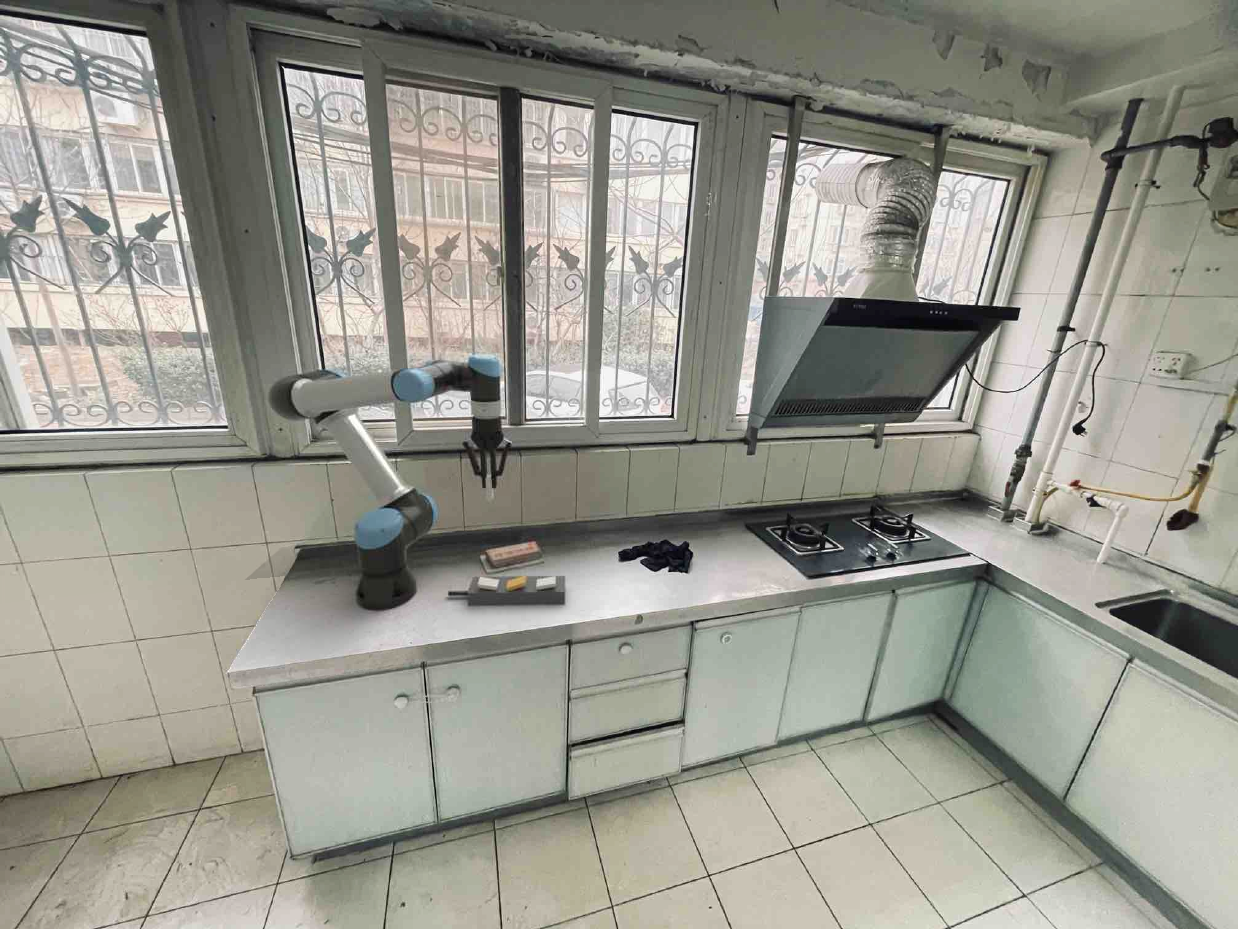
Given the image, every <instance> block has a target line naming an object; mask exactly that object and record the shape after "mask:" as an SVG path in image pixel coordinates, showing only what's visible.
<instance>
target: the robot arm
mask: <svg viewBox="0 0 1238 929" xmlns="http://www.w3.org/2000/svg"><path fill="white" fill-rule="evenodd" d="M500 368H501V367H500V360H499V358H498V357H497V356H496V355H492V354H472V355H469V357H468V361H467V362H466V361H456V360H446V359H441V358H440V359H429V360H427V361H426V362H425V363H424V364H423V365H421V366H417V367H411V368H403V369H398V370H389V371H381V372H374V373H368V374H366V373H365V374H361V375H360V374H359V375H352V376H349V375H347V374H345V373H343V371H342V372H341V371H340V370H336V369H330V368H329V369H315V370H314V371H309V372H304V373H299V374H297V373H296V374H294V375H288V376H284V377H281V378H280V379H278V380H276V381H275V382H274V383H273V384H272V385H271V386H270V388H269V391H268V397H267V398H268V399H267V400H268V404H269V405H270V408H271V409H272V411H274V414H276V415H278V416H279V417H281V418H283V419H284V420H289V421H292V422H293V421H295V422H297V421H300V422H301V421H305V420H306V421H307V420H309V419H312V420H313V421H314V423H315V425H316V426H317V427H318V428H321V429H322V428H323V429H326V430H327V431H328V432H329V433H330V435H331V437H332V438H333V439H334V441H335V443H337V445H338V446H339V448H340V450H342V452H343V453H344V454H345V456H346V458H347V459H348V460H349V462H350V463H351V465H352V466H353V467H354V469H355V470H356V472H357V473H358V475H359V476H360V477H361V479H362V481H364V483H365V484H366V486H367V487H368V488H369V490H370V491H371V493H372V494H373V496H374V497H375V498H376V500H377V507H376V509H375V510H374V511H373V510H371V511H368V512H366V513H364V514H363V515H362V516H360V517H359V518H358V519H357V521H356V522H355V525H354V536H353V537H354V543H355V547H356V548H355V549H356V553H357V554H356V555H357V560H358V561H357V562H358V565H359V573H360V574H359V579H358V582H357V585H356V591H355V597H356V603H357V604H358V606H360V607H361V608H364V609H367V610H372V611H383V610H389V609H393V608H396V607H399V606H401V605H404V604H406V602H408V601H411V599H412V598H413V597H414V596H415V594H416V593H417V589H418V588H417V586H418V585H417V581H416V578H415V576H414V575H413V573H412V571H411V569H410V566H409V565H408V558H407V549H408V548H409V547H411V546H412V545H413V544H414V543H415V542H416V541H418V540H419V539H420V538H422V537H423V536H424V535H425V534H428V533H429V532H430V530H431V529H432V528H433V527H435V525H436V523H437V520H438V516H439V515H438V514H439V512H438V507H437V504H436V502H435V501H434V499H433V498H432V497H431V496H429V494H425V493H423V492H418V490H417V489H416V488H415V486H411V485H408V484H406V483H405V482H404V479H402V477H401V475H400V474H399V473H398V471H397V470H396V469H395V467H394V465H393V464H392V462H391V461H390V459H389V458H388V456H387V455H386V454H385V452H384V450H383V449H382V448H381V447H380V445H379V443H378V442H377V441H376V440H375V437H374V436H373V435H372V433H371V432H370V431H369V429H368V427H367V426H366V425H365V423H364V421H363V420H362V419H361V418H360V416H359V414H358V411H359V408H365V407H372V406H381V405H389V404H397V403H405V402H406V403H408V404H415V403H421V402H425V401H427V400H428V399H431V398H434V397H437V396H439V395H442V394H445V393H448V392H451V391H453V392H454V391H455V392H464V393H466V392H469V394H470V395H469V396H470V411H471V415H472V417H471V427H472V428H471V431H472V432H471V435H470V437H469V438H468V439H467V438H466V439H464V441H463V442H462V446H463V448H464V449H465V450H466V452H467V456H468V459H469V461H470V466H471V468H472V472H473V474H474V476H476V477H477V476H478V477H480V478H481V487H482V489H485V494H486V502H487V501H488V502H491V501H493V499H494V497H495V496H494V489H496V488H497V485H498V477H501V476H502V475H503V474H504V470H505V466H506V462H507V458H508V453H509V450H510V448H511V447H512V444H513V440H511V439H507V438H505V435H504V433H503V427H502V426H503V424H502V422H503V421H502V416H501V414H502V398H501V371H500V370H501V369H500ZM501 444H502V447H503V449H502V453H501V457H500V462H499V466H498V468H497V465H498V464H497V448H498V447H499V446H500V445H501ZM474 445H475V446H476V447H477V448H478V449H479V456H480V457H479V458H480V465H479V461H478V459H477V455H476V452H475V449H474ZM487 451H489V456H490V457H489V458H490V460H489V462H490V474H488V461H487V456H488V455H487Z"/></svg>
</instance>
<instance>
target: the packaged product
mask: <svg viewBox="0 0 1238 929" xmlns="http://www.w3.org/2000/svg"><path fill="white" fill-rule="evenodd" d="M484 553H485V554H484V555H480V556H479V558H480V561H481V563H482V566H483V569H484V571H485V573H486V574H487V575H491V574H492V575H493V574H496V573H501V572H506V571H511V570H515V569H520V568H525V567H530V566H533V565H538V564H542V563H545V561H544V559H543V557H542V551H541V548H540V546H538V543H536V541H529V542H528V541H527V542H522V543H517V544H512V545H511V544H510V545H506V546H501V547H497V548H491V549H490V548H489V549H487V550H485V551H484Z"/></svg>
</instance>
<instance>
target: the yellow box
mask: <svg viewBox="0 0 1238 929" xmlns="http://www.w3.org/2000/svg"><path fill="white" fill-rule="evenodd" d="M521 576H522V575H521ZM526 576H527V575H523V576H522V577H519V578H516V579H512V580H509V581H508V582H507V586H506V589H507V591H510V590H513V589H517V588H520V587H523V586H526V580H527V578H526Z"/></svg>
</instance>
